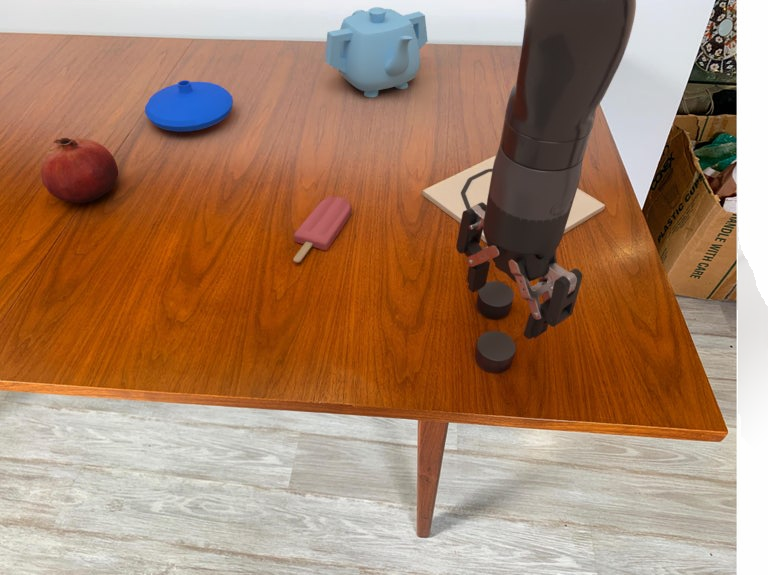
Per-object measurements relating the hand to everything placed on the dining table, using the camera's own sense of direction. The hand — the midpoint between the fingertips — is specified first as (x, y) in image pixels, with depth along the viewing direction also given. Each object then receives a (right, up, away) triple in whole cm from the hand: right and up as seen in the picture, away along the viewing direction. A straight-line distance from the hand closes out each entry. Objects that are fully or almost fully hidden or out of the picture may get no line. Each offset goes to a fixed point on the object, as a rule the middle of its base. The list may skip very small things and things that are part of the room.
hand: (503, 310), depth 64 cm
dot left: (0, -6, +6) cm, 9 cm away
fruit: (-60, +17, +28) cm, 68 cm away
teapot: (-14, +43, +54) cm, 71 cm away
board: (+7, +16, +27) cm, 32 cm away
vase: (-49, +34, +45) cm, 75 cm away
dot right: (+1, 0, +12) cm, 12 cm away
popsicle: (-23, +10, +22) cm, 33 cm away
